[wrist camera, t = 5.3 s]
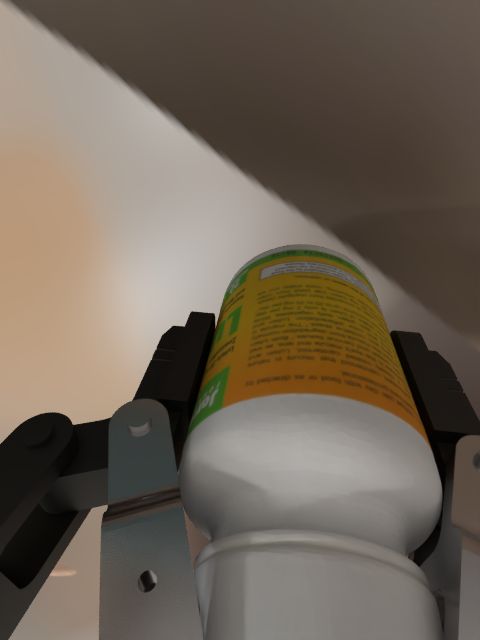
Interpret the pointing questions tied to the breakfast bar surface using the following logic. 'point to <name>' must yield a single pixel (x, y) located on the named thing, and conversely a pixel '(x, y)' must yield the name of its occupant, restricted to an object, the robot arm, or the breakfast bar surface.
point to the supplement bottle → (308, 462)
